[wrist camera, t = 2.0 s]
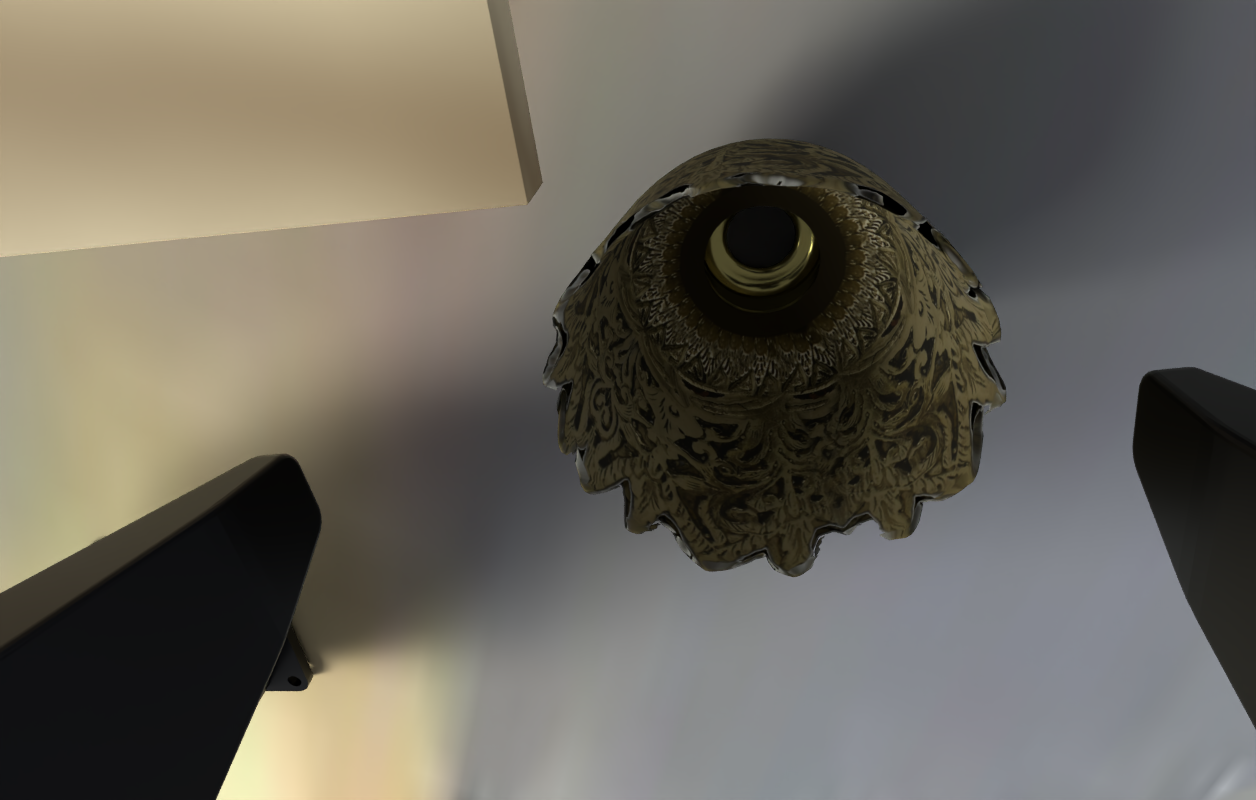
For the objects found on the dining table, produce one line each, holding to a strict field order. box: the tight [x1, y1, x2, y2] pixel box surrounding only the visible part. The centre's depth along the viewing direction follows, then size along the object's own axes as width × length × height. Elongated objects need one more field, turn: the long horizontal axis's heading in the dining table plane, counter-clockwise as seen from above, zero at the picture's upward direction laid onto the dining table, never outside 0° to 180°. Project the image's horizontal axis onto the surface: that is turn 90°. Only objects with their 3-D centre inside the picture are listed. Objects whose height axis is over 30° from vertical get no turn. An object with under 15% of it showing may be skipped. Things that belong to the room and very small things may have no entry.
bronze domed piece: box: [543, 139, 1006, 577], centre depth 17 cm, size 8×7×8 cm
